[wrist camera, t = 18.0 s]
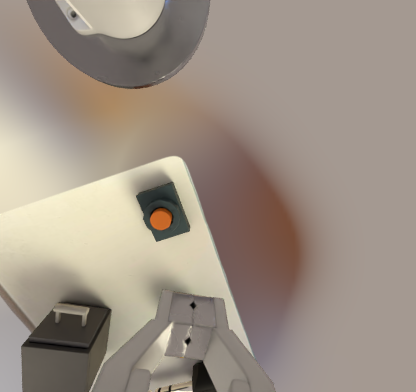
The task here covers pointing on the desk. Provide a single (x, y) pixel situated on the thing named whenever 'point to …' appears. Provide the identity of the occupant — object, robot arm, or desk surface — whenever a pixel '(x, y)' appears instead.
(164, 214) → the button
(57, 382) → the small drawer cabinet
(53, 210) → the desk surface
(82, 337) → the drawer
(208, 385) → the audio adapter
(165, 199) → the control block
